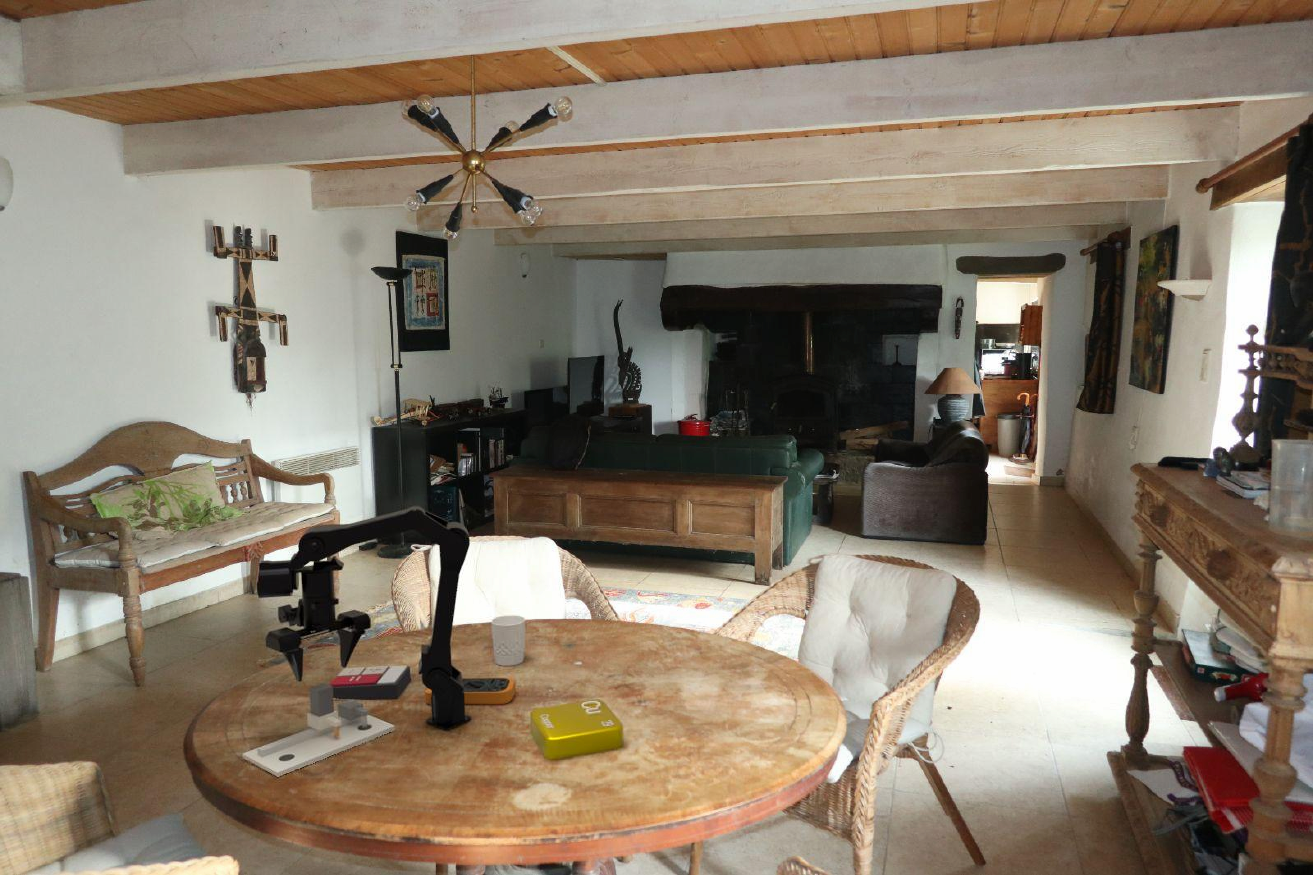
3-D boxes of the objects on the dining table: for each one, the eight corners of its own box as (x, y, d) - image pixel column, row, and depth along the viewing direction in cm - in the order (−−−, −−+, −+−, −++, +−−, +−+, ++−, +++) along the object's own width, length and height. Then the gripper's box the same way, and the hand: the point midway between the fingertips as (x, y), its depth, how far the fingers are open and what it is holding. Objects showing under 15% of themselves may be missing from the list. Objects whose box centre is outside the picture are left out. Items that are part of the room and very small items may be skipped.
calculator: (342, 666, 199) (410, 662, 198) (344, 685, 199) (411, 681, 199) (324, 684, 188) (395, 680, 188) (326, 704, 188) (397, 700, 188)
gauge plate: (395, 730, 172) (394, 707, 172) (277, 778, 153) (276, 752, 153) (358, 715, 180) (357, 693, 179) (242, 759, 161) (241, 734, 160)
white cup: (488, 658, 212) (487, 617, 211) (520, 653, 216) (519, 613, 215) (497, 669, 205) (496, 627, 204) (530, 664, 209) (529, 622, 208)
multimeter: (510, 706, 184) (510, 690, 184) (424, 707, 184) (423, 691, 184) (517, 691, 193) (517, 675, 193) (434, 691, 193) (434, 676, 193)
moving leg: (348, 733, 168) (346, 690, 167) (329, 741, 165) (327, 696, 164) (326, 724, 172) (324, 681, 171) (307, 731, 169) (305, 687, 168)
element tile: (528, 730, 173) (527, 706, 172) (602, 718, 178) (601, 695, 178) (547, 763, 159) (546, 737, 159) (626, 749, 164) (626, 724, 164)
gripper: (339, 577, 180) (342, 652, 182) (248, 597, 166) (253, 678, 167) (371, 586, 173) (374, 664, 175) (279, 607, 159) (283, 692, 160)
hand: (321, 674), depth 169 cm, fingers open, 9 cm apart
